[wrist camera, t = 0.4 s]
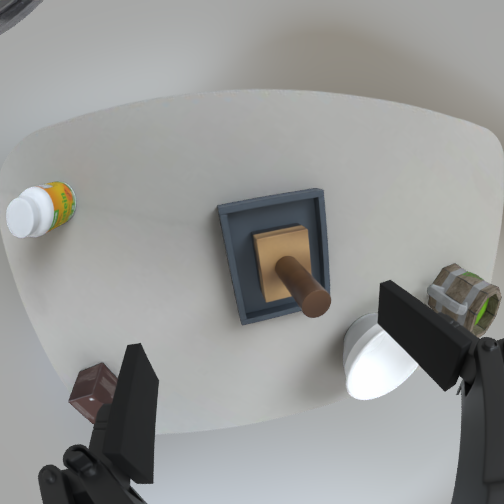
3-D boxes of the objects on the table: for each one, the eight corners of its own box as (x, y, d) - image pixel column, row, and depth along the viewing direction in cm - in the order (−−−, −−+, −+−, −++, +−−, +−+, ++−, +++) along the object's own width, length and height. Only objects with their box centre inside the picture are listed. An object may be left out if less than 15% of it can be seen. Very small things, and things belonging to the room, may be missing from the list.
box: (78, 370, 36) (66, 401, 29) (103, 361, 36) (92, 393, 29) (101, 394, 38) (93, 425, 31) (126, 386, 38) (119, 419, 32)
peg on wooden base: (250, 231, 34) (279, 270, 22) (297, 222, 34) (346, 254, 23) (259, 290, 36) (288, 347, 25) (303, 279, 37) (346, 330, 26)
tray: (217, 205, 32) (218, 208, 31) (316, 187, 34) (323, 189, 32) (239, 317, 38) (242, 325, 36) (324, 295, 39) (330, 302, 37)
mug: (467, 267, 45) (507, 289, 34) (447, 313, 48) (483, 340, 37) (427, 253, 41) (476, 280, 30) (404, 309, 44) (446, 344, 33)
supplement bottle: (77, 223, 30) (40, 247, 21) (44, 222, 28) (3, 244, 19) (77, 180, 28) (38, 190, 19) (43, 181, 27) (0, 191, 18)
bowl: (401, 344, 47) (425, 369, 39) (331, 382, 46) (350, 413, 38) (399, 278, 42) (432, 300, 34) (316, 319, 40) (340, 353, 33)
